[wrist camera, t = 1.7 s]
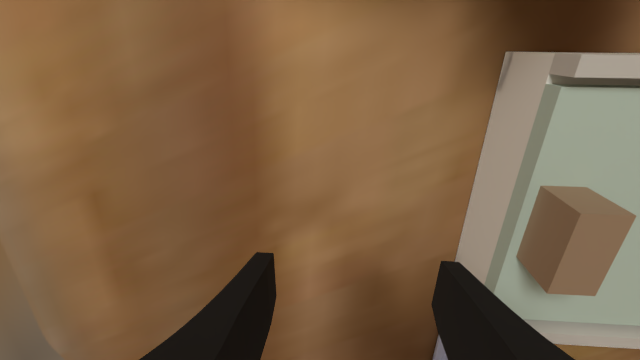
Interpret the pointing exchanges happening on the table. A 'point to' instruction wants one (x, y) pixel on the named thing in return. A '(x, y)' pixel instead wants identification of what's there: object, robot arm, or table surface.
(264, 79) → the table surface
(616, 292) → the cover plate
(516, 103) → the box
